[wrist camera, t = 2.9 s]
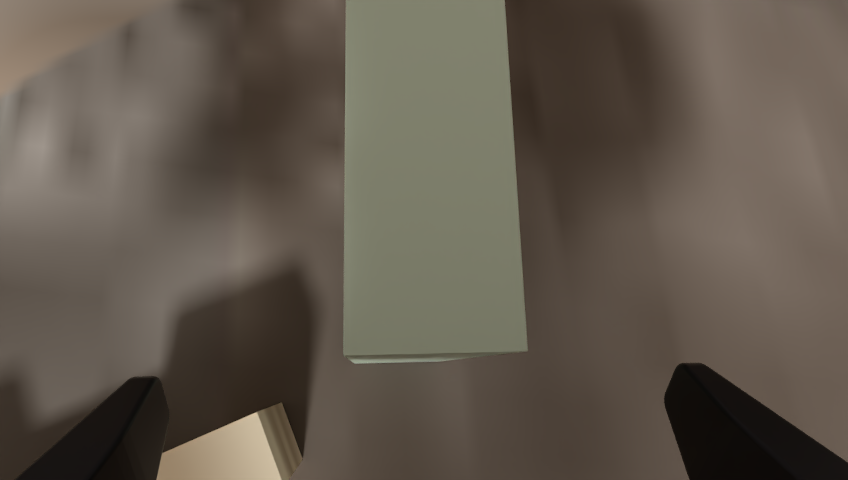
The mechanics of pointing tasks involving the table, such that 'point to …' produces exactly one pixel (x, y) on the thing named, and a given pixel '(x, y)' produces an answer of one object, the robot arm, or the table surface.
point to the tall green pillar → (430, 184)
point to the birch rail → (237, 451)
